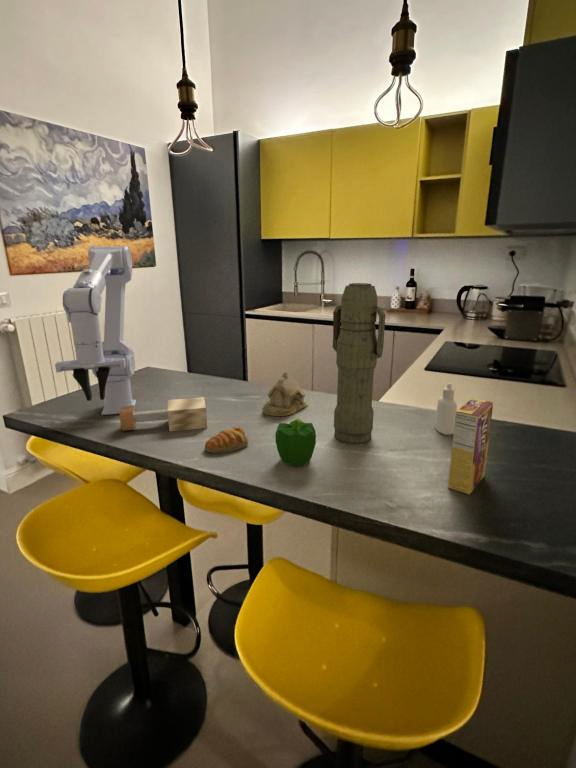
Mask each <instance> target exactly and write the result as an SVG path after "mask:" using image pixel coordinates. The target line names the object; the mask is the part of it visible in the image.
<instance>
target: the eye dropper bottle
mask: <svg viewBox="0 0 576 768" xmlns="http://www.w3.org/2000/svg"><path fill="white" fill-rule="evenodd" d="M454 396H455V389H454V388H453V387H452V383H451V382H448V383H447V385H446V386H445V387H443V390H442V396H440V397H439V398H437V405H436V414H435V423H434V428H435V430H436V431H437V432H438V433H440V434H443V435H446V436H448V435H450V436H451V435H453V434H454V425H455V414H456V411H457V410H458V404H457V401H456V400H455V399H454Z"/></svg>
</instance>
